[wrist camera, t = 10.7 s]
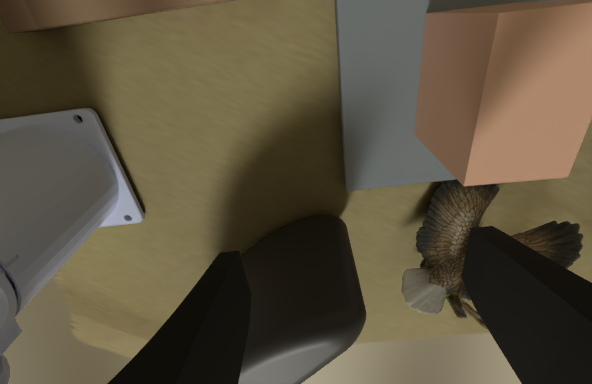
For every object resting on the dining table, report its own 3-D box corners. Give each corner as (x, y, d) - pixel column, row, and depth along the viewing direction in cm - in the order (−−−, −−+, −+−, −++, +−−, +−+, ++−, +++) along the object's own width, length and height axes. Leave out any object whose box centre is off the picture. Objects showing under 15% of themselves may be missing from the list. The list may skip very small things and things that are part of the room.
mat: (344, 183, 20) (346, 191, 19) (332, -42, 14) (334, -45, 13) (533, 162, 19) (544, 169, 18) (607, -86, 13) (629, -93, 12)
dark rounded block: (297, 182, 20) (297, 297, 12) (349, 215, 21) (381, 339, 13) (190, 312, 27) (144, 442, 19) (235, 331, 28) (210, 459, 20)
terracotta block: (413, 134, 17) (463, 186, 12) (425, 13, 14) (499, 13, 9) (485, 127, 17) (567, 177, 12) (513, 2, 14) (640, -4, 9)
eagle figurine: (494, 289, 24) (587, 208, 18) (480, 368, 19) (603, 292, 13) (404, 236, 26) (459, 150, 20) (371, 293, 21) (432, 202, 15)
